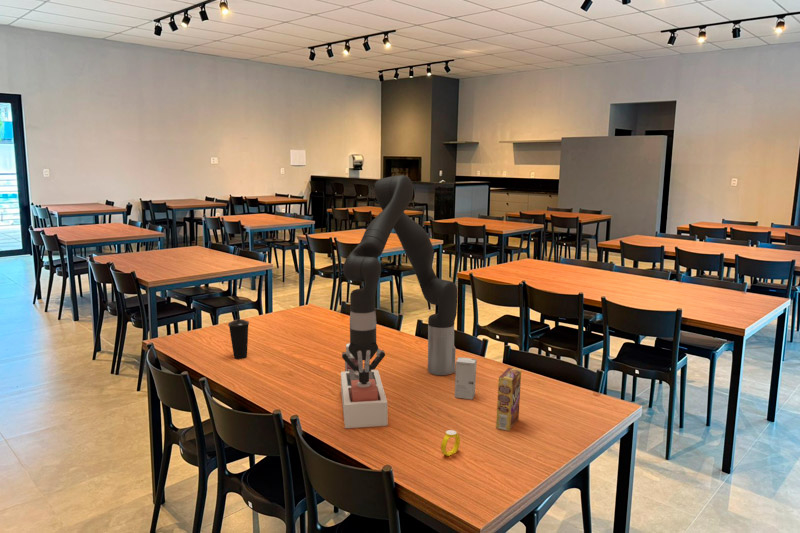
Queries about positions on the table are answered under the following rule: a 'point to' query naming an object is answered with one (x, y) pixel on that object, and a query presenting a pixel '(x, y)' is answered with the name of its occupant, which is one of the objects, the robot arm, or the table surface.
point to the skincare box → (465, 378)
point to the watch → (443, 446)
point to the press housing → (364, 405)
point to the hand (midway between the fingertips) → (363, 383)
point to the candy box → (508, 399)
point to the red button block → (364, 391)
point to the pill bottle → (351, 359)
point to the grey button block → (357, 375)
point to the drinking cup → (239, 337)
